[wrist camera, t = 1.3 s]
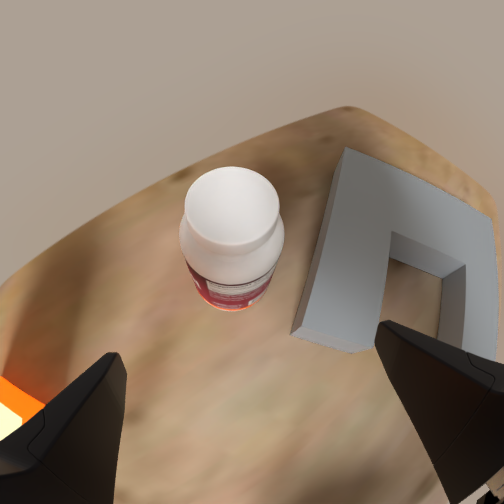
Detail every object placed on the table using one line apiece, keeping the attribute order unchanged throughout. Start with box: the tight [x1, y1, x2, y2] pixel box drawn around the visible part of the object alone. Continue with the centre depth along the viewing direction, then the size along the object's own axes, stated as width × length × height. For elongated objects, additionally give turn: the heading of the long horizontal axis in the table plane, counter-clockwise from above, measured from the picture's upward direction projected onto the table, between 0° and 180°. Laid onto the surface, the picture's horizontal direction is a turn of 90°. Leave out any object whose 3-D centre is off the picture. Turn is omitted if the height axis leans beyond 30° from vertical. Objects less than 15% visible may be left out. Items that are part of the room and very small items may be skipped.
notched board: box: [290, 147, 499, 361], centre depth 23 cm, size 18×20×4 cm
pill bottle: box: [179, 167, 284, 311], centre depth 19 cm, size 6×6×11 cm
